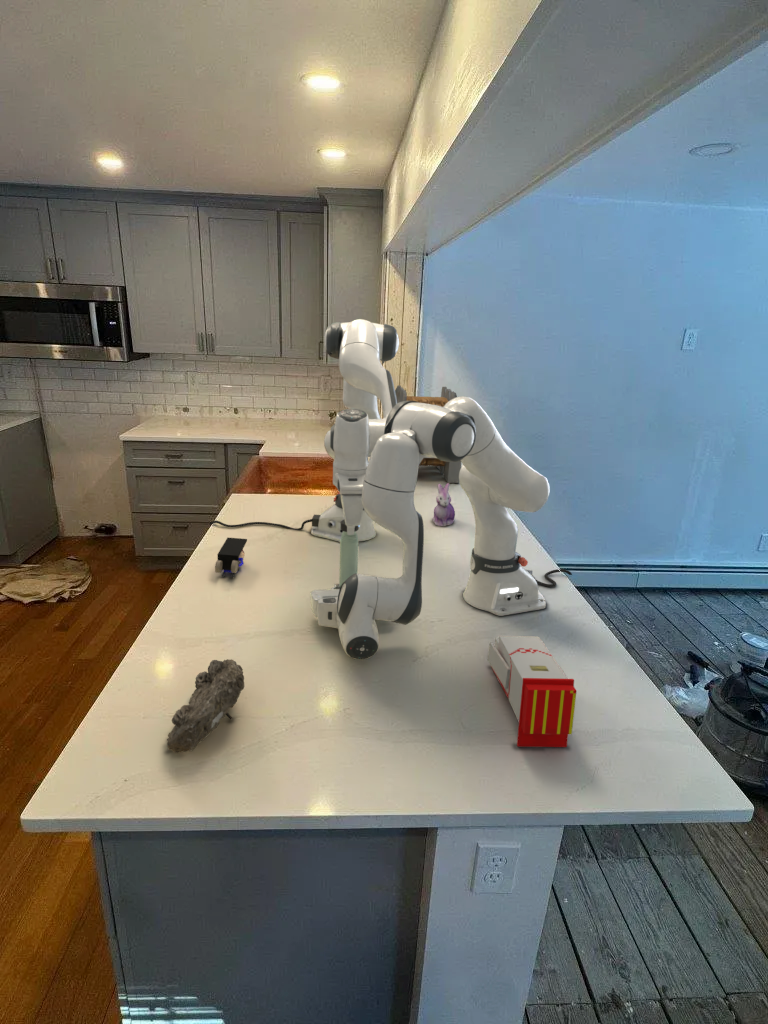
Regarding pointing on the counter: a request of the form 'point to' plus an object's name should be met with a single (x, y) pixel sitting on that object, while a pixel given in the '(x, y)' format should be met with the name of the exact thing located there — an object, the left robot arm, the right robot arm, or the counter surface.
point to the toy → (534, 690)
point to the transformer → (444, 467)
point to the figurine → (443, 507)
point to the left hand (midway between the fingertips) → (349, 529)
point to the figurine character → (230, 556)
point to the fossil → (206, 705)
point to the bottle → (348, 556)
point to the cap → (344, 527)
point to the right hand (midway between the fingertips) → (347, 585)
